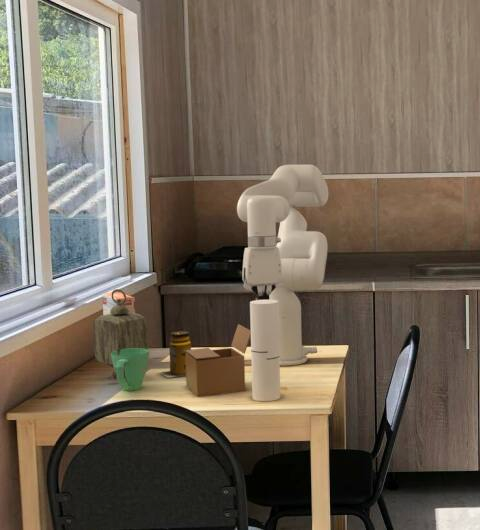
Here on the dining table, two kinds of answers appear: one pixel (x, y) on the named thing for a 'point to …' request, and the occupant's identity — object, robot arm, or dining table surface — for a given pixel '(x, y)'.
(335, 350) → the dining table surface
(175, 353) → the condiment
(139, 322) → the tabletop clock
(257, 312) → the cylindrical container
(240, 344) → the flap
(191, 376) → the carton
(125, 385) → the mug
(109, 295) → the cracker box
